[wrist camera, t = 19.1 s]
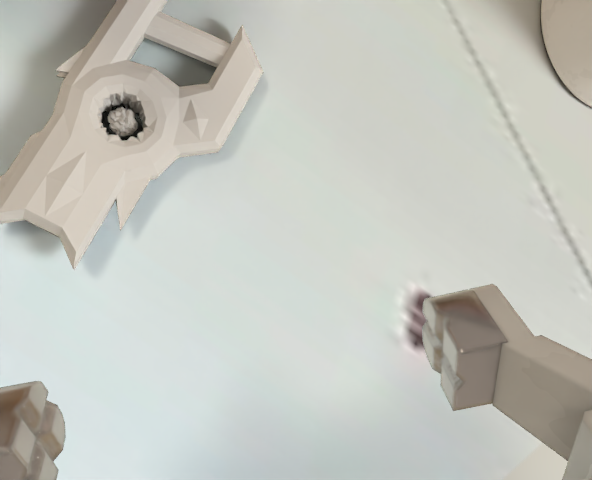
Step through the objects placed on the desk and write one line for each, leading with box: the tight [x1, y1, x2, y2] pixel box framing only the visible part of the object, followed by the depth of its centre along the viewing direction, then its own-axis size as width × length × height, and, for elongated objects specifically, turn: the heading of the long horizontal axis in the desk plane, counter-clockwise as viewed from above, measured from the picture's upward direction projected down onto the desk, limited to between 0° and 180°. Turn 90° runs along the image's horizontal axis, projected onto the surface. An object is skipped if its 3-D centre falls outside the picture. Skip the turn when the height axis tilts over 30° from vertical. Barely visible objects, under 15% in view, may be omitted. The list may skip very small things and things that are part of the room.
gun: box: [0, 0, 263, 270], centre depth 31 cm, size 18×4×10 cm
